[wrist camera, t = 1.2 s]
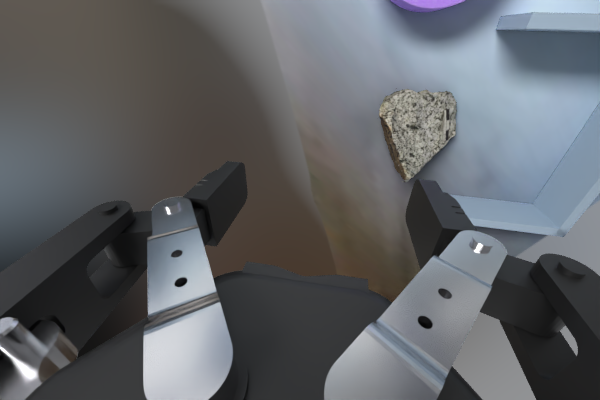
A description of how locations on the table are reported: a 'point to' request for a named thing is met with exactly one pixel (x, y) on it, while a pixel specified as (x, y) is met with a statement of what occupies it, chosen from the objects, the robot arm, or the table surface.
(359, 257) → the table surface
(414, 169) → the rock sample
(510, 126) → the table surface
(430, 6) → the masking tape
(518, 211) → the box
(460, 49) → the table surface
